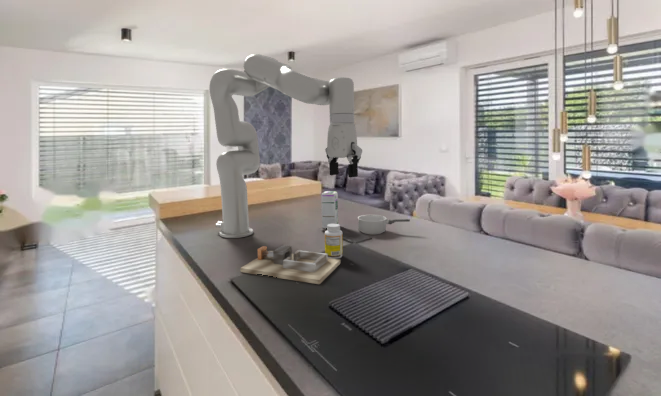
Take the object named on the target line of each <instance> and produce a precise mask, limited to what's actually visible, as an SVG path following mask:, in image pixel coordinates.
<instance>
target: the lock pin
mask: <svg viewBox="0 0 661 396" xmlns="http://www.w3.org/2000/svg"><path fill="white" fill-rule="evenodd" d="M267 249H268V247H267V246H265V245H263V246H261V247H259V248H257V258H258V260H262V259H272V260H273V251H274V250H267ZM285 259H286V253H285Z"/></svg>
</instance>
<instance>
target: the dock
mask: <svg viewBox="0 0 661 396" xmlns="http://www.w3.org/2000/svg"><path fill="white" fill-rule="evenodd" d="M272 251H273V260H272V259H262V260H258V257H257V258H255V259H253V260H251V261H250V262H248V263H247V264H245V265H243V266H241V267H240V273H245V274H251V275H257V274H262V275H261V276H263V275H268V276H267V277H269V276H273V277H272V278H276V277H277V278H276V279H284V280H289V281H297V282H301V283H309V284H313V285H314V284H316V285H321V284H322V283H323V282H324V281H325V280H326V279H327V278H328V277H329V276H330V275H331V274H332V273H333V272H334V271H335V270H336V269H337V268H338V266H339V265H340V264H341V259H340V258H338V259H331V258H328V254H326V253H325V252H318V251H317V252H316V251H311V250H302V249H297V250H296V251H294V252H292V251H293V250H292V246H290V245H283V244H282V245H281V246H279V247H277V248H276V249H274V250H272ZM285 253H286V259H285Z"/></svg>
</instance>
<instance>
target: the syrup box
mask: <svg viewBox="0 0 661 396" xmlns="http://www.w3.org/2000/svg"><path fill="white" fill-rule="evenodd" d="M338 194H339V193H338V191H335V190H327V191H323V192H322V193H321V194H320V197H321V199H320V200H321V228H322V229H326V228H327V225H328V224H339V199H338V198H339V196H338Z"/></svg>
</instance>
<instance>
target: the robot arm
mask: <svg viewBox="0 0 661 396" xmlns="http://www.w3.org/2000/svg"><path fill="white" fill-rule="evenodd" d="M208 88H209V95H210V96H209V97H210V100H211V103H212V107H213V113H214V121H215V122H214V123H215V130H216V138H217V141H218V143H219V144H220V145H221V146H222V147H226V148H237V150H228V151H225V152H222V153H221V154H219V156H217V159H216V165H215V166H216V171H217V174H218V177H219V185H220V195H221V197H220V198H221V199H220V200H221V211H222V212H221V213H222V221H220V220H218V221H217V222H216V223H215V227H216V228H220V230H219V233H218V234H219V236H220V237H221V238H226V239H239V238H244V237H248V236H251V235H253V234H254V229H253V228H251V227H250V225H249V203H248V200H249V199H248V188H247V187H248V186H247V184H246V183H247V182H246V181H245V179H244V177H243V176H246V175H251V174H255V173H256V172H257V171H258V170H259V167H260V163H261V156H260V149H259V148H260V147H259V141H258V133H257V130H256V128H255V127H254V125H253V124H252V123H250V122H249V121H243V120H242V121H241V120H240V115H239V114H240V113H239V108H238V105H237V103H236V101H235V100H234V97H233V96H234V95H235V96H241V97H243V96H244V97H253V96H257V95H258V94H259V93H261V92H263V91H265V90H266V89H268V88H272V89H275V90H277V91H279V92H280V93H282V94H283V95H285V96H287V97H289V98H292V99H294V100H297V101H299V102H302V103H304V104H308V105H309V104H310V105H317V106H328V105H329V125H328V128H327V129H328V130H327V141H326V142H327V143H326V144H327V145H326V147H325V149H324V150H325V151H324V152H325V153H326V158H327V161H328V164H329V176H335V175H336V176H337V175H339V162H338V160H339V158H340V159H342V158H343V159H344V158H346V159H347V161H348V165H347V170H348V171H347V172H348V178H357V177H358V176H359V171H358V170H359V169H358V165H359V163H360V160H361V158H362V153H363V149H362V148H361V147H360V146H359V145H358V137H357V130H356V128H357V127H356V123H355V87H354V80H353V79H352V78H351V77H350V78H349V77H334V78H332V79H330V80H329V81H328V80H323V79H318V78H314V77H310V76H308V75H304V74H302V73H299V72H297V71H294V70H293V69H292V67H291V66H290V65H288V64H286V63H285V62H284V63H283V62H281V61H278V60H277V59H276V58H274V57H269V56H266V55H262V54H260V53H259V54H258V53H253V54H250V55H248V56H247V57H246V58H245V59H244V61H243V71H242V70H238V69H233V68H222V69H219V70H217V71H215V72H214V73H213V75H212V76H211V78H210V81H209V87H208Z"/></svg>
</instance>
